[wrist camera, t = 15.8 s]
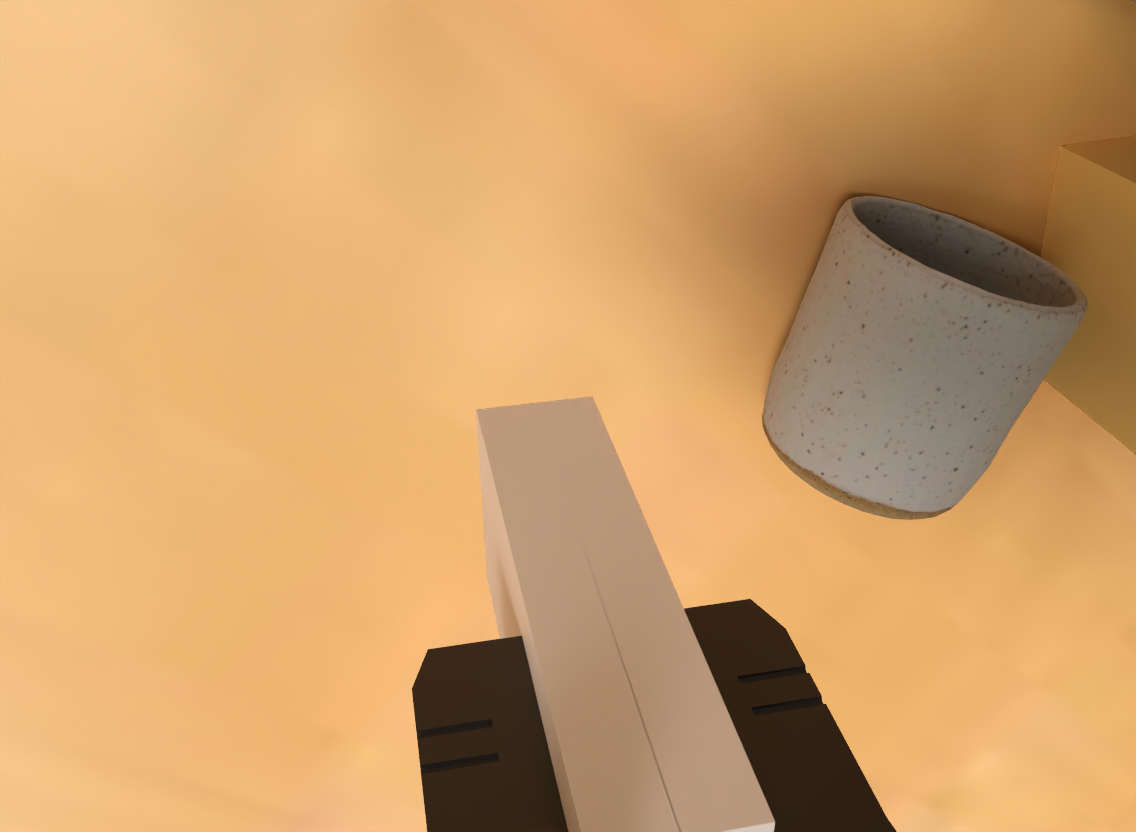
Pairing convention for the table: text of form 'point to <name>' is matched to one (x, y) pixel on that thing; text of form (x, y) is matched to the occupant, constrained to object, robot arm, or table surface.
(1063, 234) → the ochre book
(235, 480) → the table surface
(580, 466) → the robot arm
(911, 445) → the ceramic mug
